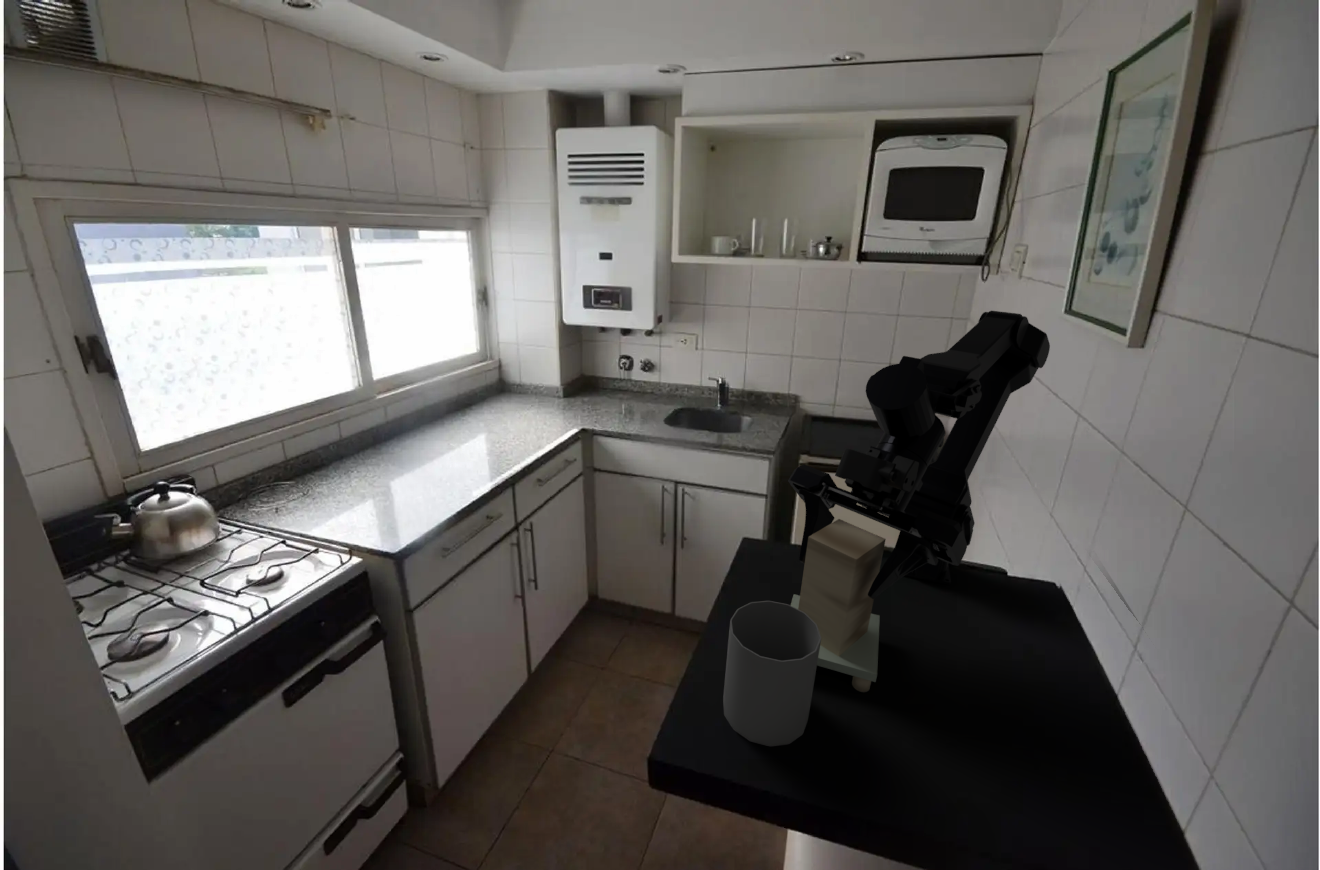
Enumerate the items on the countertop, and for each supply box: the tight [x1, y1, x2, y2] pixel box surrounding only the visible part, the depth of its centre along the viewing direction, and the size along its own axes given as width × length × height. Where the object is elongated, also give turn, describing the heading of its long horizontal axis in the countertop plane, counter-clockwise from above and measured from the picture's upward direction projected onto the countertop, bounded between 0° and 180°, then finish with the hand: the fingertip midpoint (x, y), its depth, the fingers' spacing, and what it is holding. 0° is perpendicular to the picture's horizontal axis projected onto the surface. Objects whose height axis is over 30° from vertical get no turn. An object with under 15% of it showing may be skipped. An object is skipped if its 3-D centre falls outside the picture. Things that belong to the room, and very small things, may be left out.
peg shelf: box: [790, 593, 880, 693], centre depth 63 cm, size 10×10×3 cm
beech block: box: [798, 518, 886, 656], centre depth 61 cm, size 6×6×12 cm
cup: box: [722, 600, 821, 747], centre depth 54 cm, size 8×8×10 cm
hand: (834, 578), depth 59 cm, fingers open, 8 cm apart
